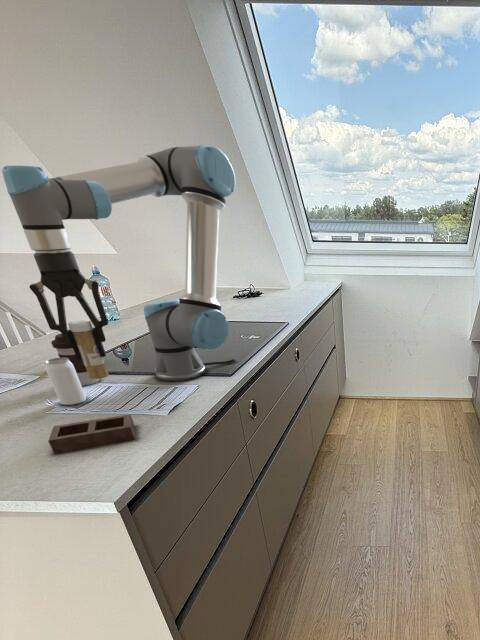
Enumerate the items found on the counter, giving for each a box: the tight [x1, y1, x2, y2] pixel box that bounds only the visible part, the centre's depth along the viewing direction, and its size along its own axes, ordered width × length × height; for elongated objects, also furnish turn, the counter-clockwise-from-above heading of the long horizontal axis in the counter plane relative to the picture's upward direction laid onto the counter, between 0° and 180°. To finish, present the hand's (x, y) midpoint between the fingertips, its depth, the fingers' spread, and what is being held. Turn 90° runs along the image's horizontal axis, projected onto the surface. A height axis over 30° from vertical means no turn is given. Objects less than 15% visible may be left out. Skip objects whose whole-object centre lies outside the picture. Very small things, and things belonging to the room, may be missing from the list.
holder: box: [48, 413, 136, 455], centre depth 109 cm, size 16×9×4 cm, turn 117°
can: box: [44, 357, 87, 406], centre depth 128 cm, size 6×6×12 cm
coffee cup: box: [50, 332, 100, 386], centre depth 141 cm, size 10×10×15 cm
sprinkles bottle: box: [67, 320, 110, 380], centre depth 112 cm, size 5×5×14 cm
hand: (91, 356), depth 113 cm, fingers closed on sprinkles bottle, 5 cm apart
